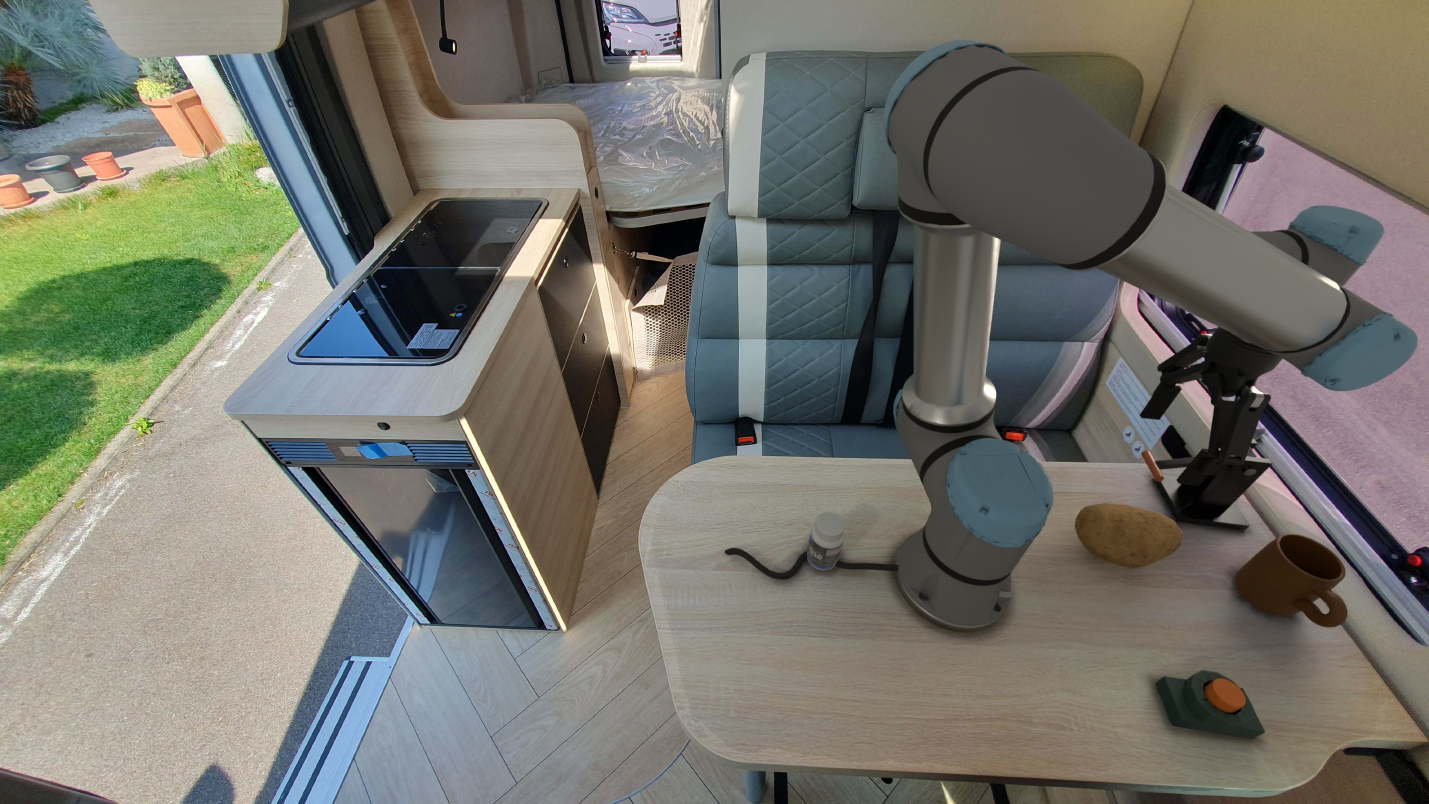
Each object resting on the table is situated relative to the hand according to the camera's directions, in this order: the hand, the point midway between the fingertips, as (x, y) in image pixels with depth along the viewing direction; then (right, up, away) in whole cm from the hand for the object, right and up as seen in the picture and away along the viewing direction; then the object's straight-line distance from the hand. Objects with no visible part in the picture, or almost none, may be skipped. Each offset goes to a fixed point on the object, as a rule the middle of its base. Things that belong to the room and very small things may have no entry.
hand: (1167, 448), depth 87 cm
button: (-9, -28, -20) cm, 35 cm away
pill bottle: (-52, -16, -2) cm, 55 cm away
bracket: (+10, -9, +6) cm, 15 cm away
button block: (-9, -30, -17) cm, 36 cm away
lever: (+6, -3, +1) cm, 6 cm away
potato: (-9, -15, 0) cm, 18 cm away
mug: (+9, -22, -7) cm, 25 cm away
